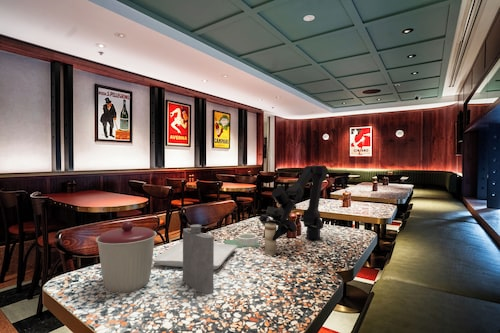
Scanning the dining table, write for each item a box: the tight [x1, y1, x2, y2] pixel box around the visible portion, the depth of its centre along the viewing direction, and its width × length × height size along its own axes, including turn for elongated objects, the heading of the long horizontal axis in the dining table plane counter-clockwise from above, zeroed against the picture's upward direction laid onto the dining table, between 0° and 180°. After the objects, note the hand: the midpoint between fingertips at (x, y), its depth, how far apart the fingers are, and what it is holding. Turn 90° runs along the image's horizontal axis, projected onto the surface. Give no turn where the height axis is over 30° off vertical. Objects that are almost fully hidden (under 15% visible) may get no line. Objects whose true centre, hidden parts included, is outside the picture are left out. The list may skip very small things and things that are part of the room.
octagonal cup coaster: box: [223, 233, 261, 249], centre depth 137 cm, size 18×15×4 cm
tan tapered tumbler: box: [264, 223, 277, 256], centre depth 123 cm, size 5×5×13 cm
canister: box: [94, 220, 157, 294], centre depth 90 cm, size 18×18×21 cm
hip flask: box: [182, 224, 215, 295], centre depth 90 cm, size 16×4×20 cm, turn 42°
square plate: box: [152, 241, 238, 270], centre depth 115 cm, size 27×27×4 cm
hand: (268, 239), depth 122 cm, fingers closed on tan tapered tumbler, 5 cm apart
